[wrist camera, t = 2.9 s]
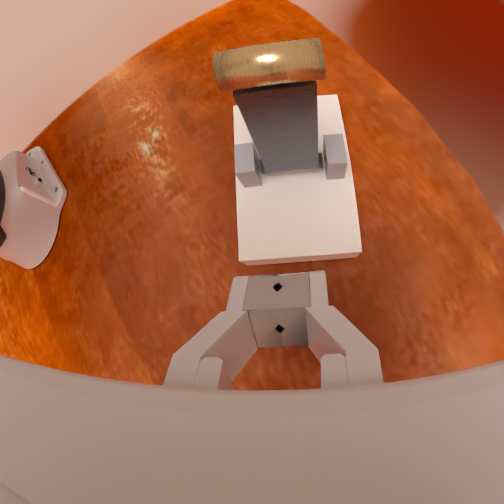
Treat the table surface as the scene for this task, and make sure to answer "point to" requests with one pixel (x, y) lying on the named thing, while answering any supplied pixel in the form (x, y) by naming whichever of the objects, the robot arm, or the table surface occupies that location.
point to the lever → (277, 99)
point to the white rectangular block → (297, 199)
